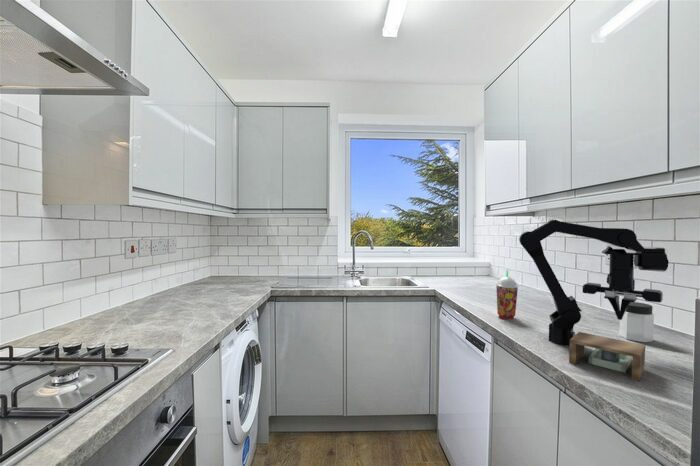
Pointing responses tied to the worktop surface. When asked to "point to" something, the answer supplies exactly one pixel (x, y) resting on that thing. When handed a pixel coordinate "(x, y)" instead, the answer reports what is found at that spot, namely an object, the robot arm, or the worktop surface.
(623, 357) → the tray
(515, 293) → the smoothie
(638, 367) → the shelf
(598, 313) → the worktop surface
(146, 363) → the worktop surface
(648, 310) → the jar
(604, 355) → the grey smooth round-ended part
